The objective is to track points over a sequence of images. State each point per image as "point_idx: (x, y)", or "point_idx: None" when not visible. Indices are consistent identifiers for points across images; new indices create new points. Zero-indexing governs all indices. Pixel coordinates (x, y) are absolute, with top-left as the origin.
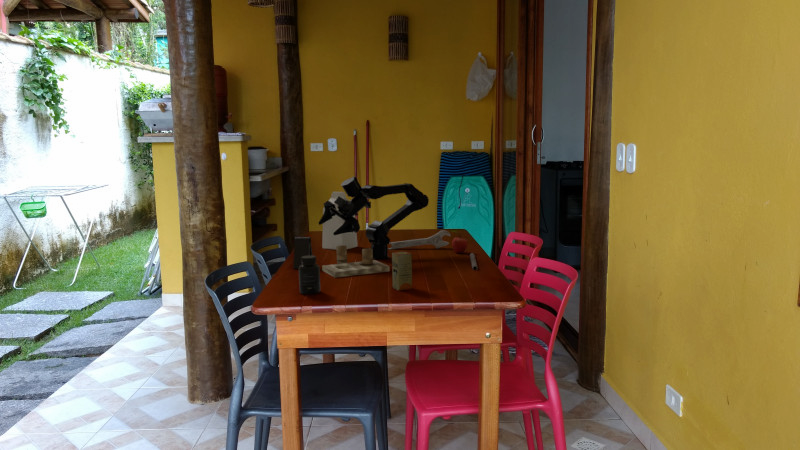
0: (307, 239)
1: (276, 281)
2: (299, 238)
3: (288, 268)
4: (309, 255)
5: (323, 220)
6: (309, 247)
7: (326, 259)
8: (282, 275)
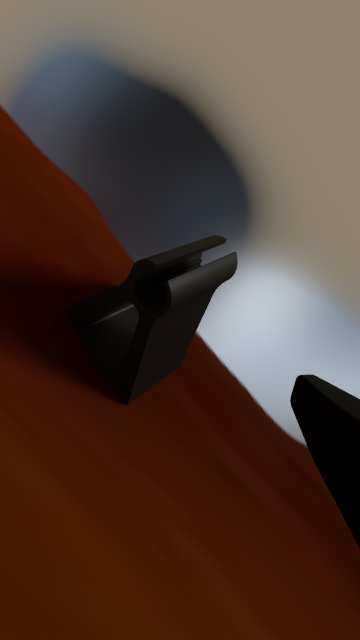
0: (150, 256)
1: (7, 115)
2: (196, 242)
3: None
4: (100, 311)
5: (354, 465)
6: (119, 293)
7: (185, 571)
8: (66, 191)
